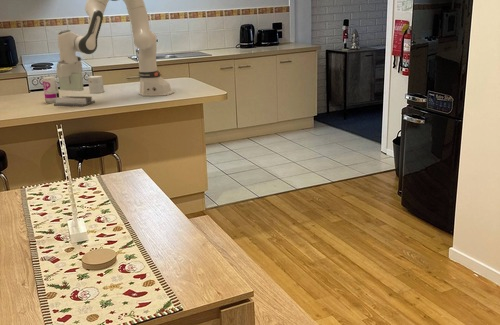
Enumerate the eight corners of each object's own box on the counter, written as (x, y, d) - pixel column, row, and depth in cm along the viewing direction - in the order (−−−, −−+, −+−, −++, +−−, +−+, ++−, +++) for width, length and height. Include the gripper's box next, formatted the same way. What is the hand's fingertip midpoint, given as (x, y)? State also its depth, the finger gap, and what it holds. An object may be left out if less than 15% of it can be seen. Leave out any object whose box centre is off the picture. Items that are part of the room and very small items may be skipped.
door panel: (83, 90, 315) (81, 73, 312) (80, 91, 313) (78, 73, 310) (63, 89, 319) (61, 72, 316) (60, 90, 317) (57, 73, 314)
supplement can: (51, 103, 322) (48, 78, 317) (43, 102, 326) (39, 78, 321) (62, 101, 328) (59, 76, 324) (54, 100, 332) (50, 76, 328)
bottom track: (94, 102, 321) (94, 95, 320) (83, 106, 310) (82, 99, 309) (66, 101, 327) (65, 95, 325) (53, 105, 316) (52, 98, 314)
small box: (104, 91, 356) (102, 75, 353) (101, 93, 351) (99, 77, 348) (92, 91, 357) (90, 75, 354) (89, 93, 352) (87, 77, 349)
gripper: (61, 61, 300) (65, 86, 304) (82, 57, 319) (85, 80, 323) (52, 61, 302) (55, 86, 306) (73, 57, 321) (76, 80, 325)
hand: (71, 83), depth 315 cm, fingers closed on door panel, 3 cm apart
